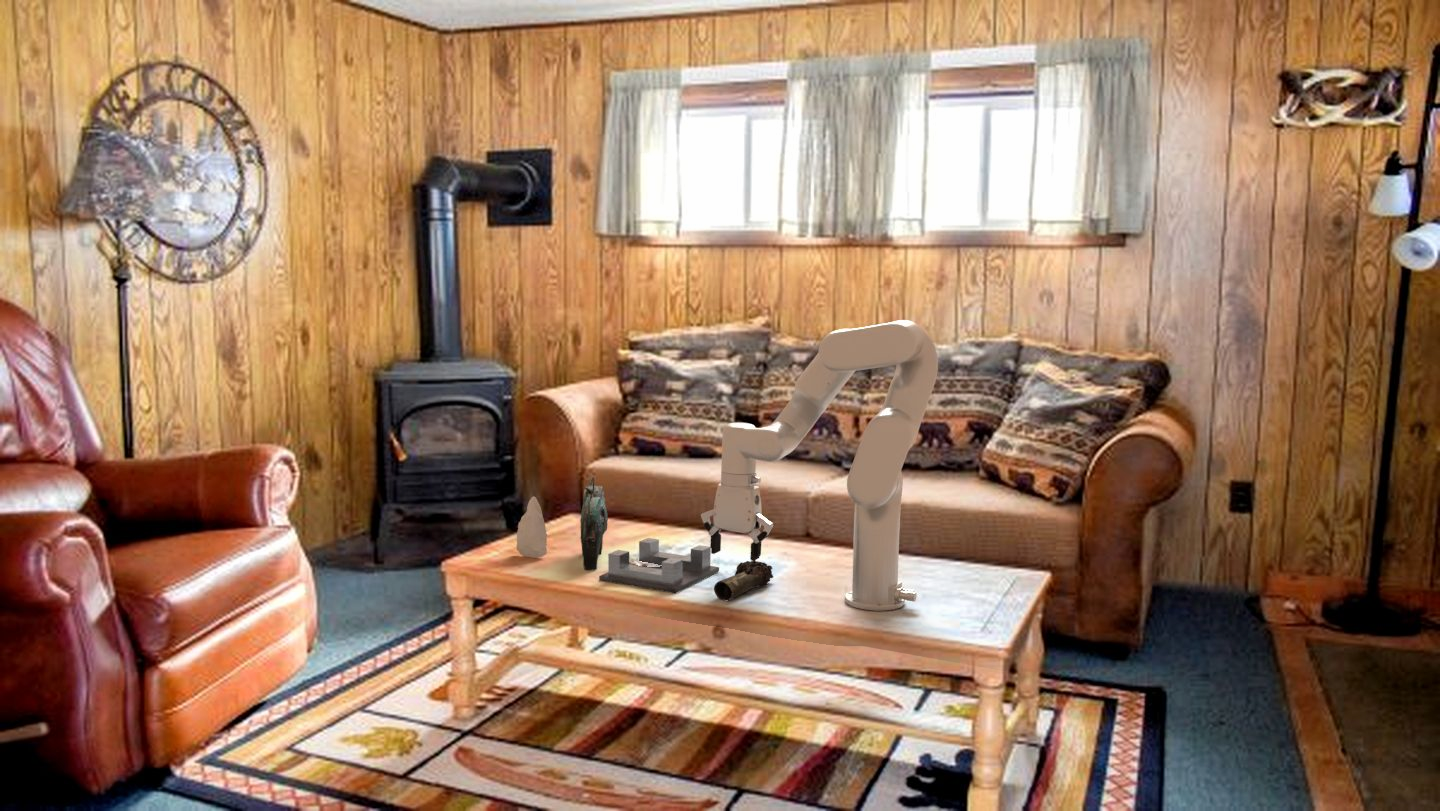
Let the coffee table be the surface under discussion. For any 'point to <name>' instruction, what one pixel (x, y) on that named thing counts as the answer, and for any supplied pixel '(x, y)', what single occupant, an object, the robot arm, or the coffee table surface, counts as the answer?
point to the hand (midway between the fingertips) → (735, 555)
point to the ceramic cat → (592, 524)
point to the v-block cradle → (659, 568)
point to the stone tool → (532, 532)
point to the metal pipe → (743, 579)
